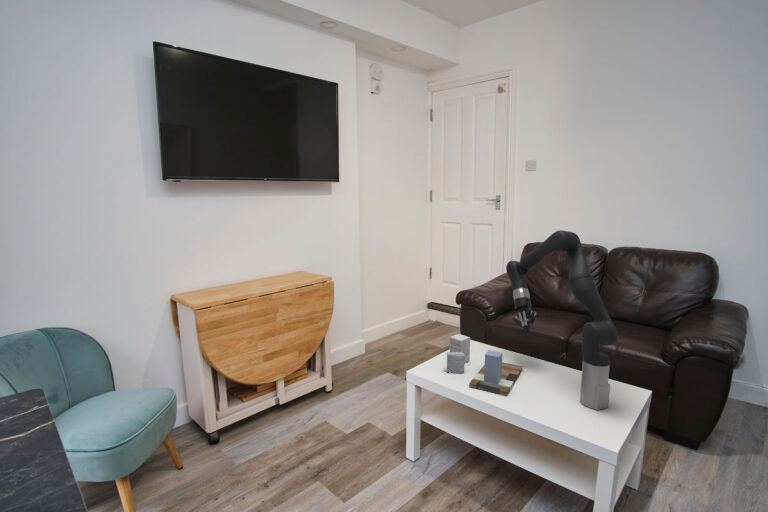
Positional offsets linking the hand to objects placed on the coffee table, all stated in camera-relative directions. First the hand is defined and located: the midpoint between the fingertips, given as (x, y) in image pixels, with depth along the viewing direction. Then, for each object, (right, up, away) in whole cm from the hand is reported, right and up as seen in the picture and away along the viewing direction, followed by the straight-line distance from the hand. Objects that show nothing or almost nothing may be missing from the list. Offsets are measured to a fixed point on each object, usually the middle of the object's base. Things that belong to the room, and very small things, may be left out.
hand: (527, 334), depth 187 cm
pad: (-19, -20, -12) cm, 30 cm away
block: (-19, -18, -12) cm, 29 cm away
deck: (-16, -19, -6) cm, 25 cm away
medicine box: (-33, -18, +2) cm, 38 cm away
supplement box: (-29, -16, +14) cm, 36 cm away
